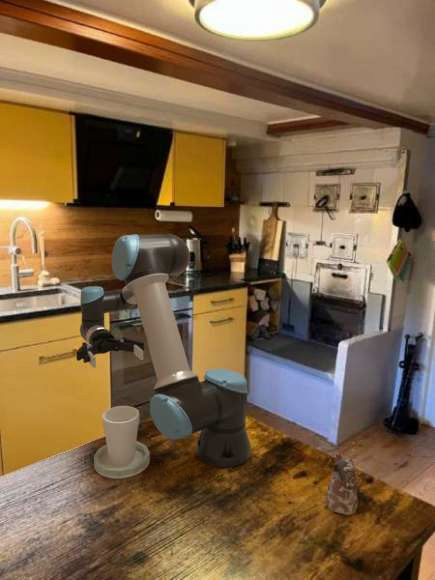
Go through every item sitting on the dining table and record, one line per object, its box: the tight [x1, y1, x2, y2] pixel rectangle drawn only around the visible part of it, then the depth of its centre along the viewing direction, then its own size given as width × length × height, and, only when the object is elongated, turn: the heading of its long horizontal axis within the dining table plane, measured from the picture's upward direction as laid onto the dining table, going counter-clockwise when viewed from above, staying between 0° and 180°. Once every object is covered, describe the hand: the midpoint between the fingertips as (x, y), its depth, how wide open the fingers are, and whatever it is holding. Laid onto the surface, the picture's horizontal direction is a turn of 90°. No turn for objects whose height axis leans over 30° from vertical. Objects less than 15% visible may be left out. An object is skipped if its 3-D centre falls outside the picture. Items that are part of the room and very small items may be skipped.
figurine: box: [325, 452, 359, 516], centre depth 100 cm, size 7×7×12 cm
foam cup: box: [102, 405, 140, 466], centre depth 113 cm, size 10×9×13 cm
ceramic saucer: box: [93, 440, 151, 480], centre depth 114 cm, size 14×14×2 cm
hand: (118, 359), depth 122 cm, fingers open, 13 cm apart
